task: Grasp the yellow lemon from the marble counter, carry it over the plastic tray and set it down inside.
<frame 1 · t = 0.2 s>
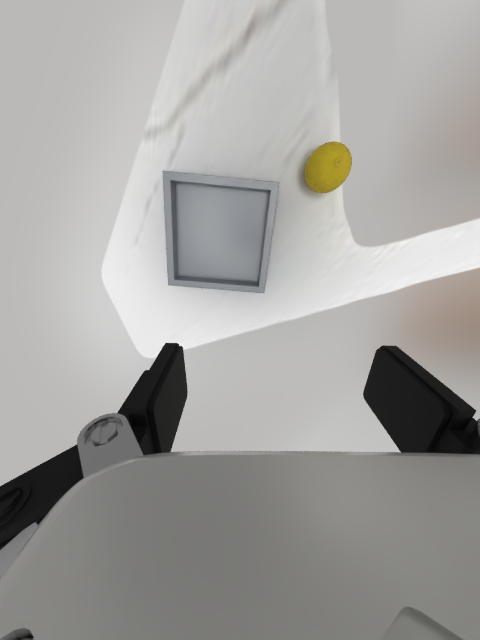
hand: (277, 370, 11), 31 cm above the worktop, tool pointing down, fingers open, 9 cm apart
tray: (220, 236, 37), on the worktop
lemon: (316, 174, 33), on the worktop
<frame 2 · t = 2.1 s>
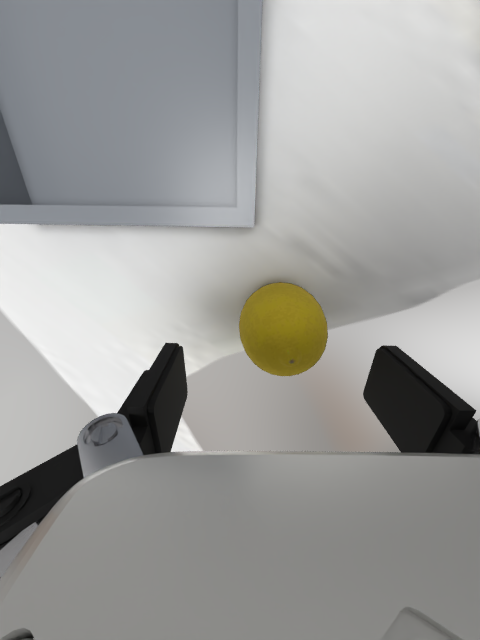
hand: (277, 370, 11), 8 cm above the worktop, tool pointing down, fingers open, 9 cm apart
tray: (118, 71, 13), on the worktop
lemon: (274, 303, 19), on the worktop
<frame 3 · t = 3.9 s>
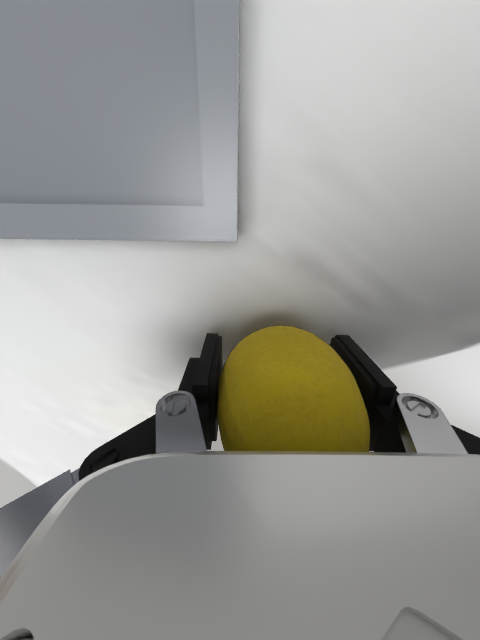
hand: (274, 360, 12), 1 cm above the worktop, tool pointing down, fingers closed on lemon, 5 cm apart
lemon: (271, 345, 13), on the worktop, touching gripper
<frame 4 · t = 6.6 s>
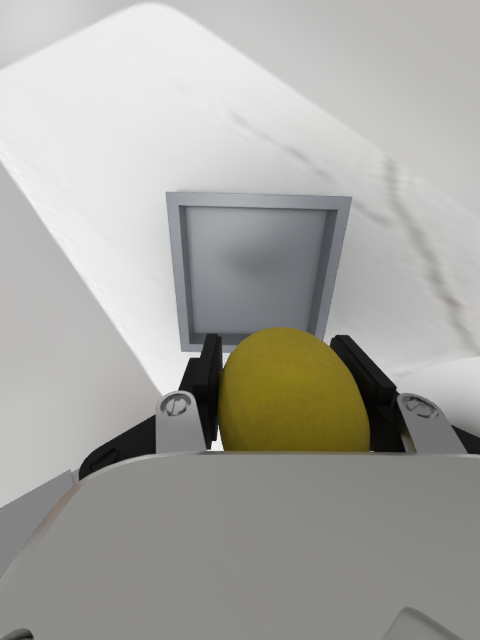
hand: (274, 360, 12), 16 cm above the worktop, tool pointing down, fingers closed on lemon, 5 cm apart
tray: (252, 277, 26), on the worktop
lemon: (271, 346, 13), point 14 cm above the worktop, touching gripper
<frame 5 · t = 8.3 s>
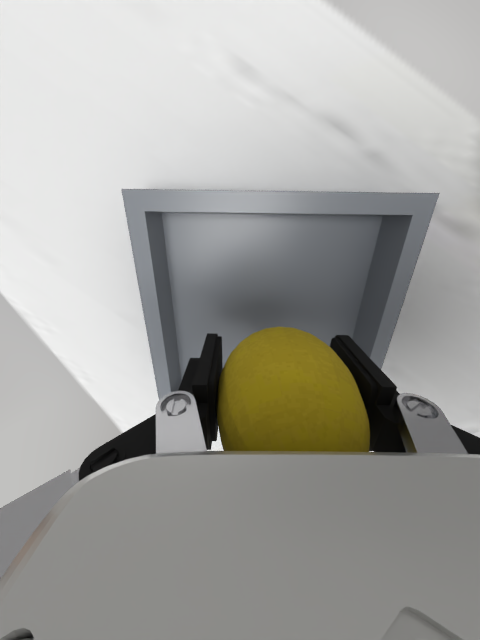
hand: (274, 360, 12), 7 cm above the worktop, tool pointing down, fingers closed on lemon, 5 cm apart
tray: (264, 312, 18), on the worktop
lemon: (271, 346, 13), point 5 cm above the worktop, touching gripper
when the fingers open (4 cm above the worktop, at t = 9.7 s): lemon drops 2 cm, resting on tray.
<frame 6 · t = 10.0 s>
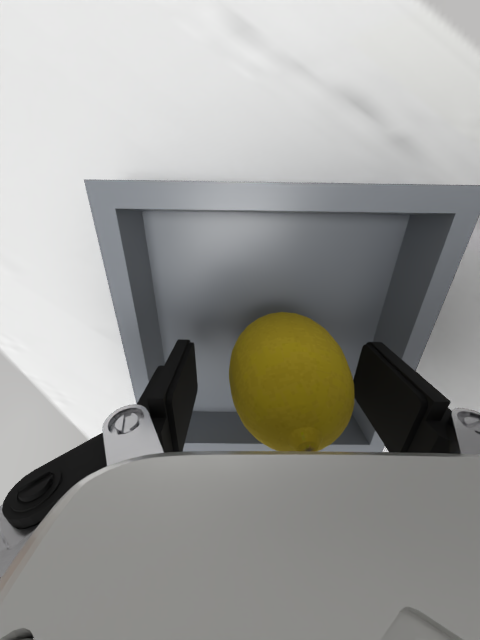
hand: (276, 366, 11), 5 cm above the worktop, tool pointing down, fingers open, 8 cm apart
tray: (266, 326, 15), on the worktop
lemon: (274, 331, 15), point 1 cm above the worktop, touching tray
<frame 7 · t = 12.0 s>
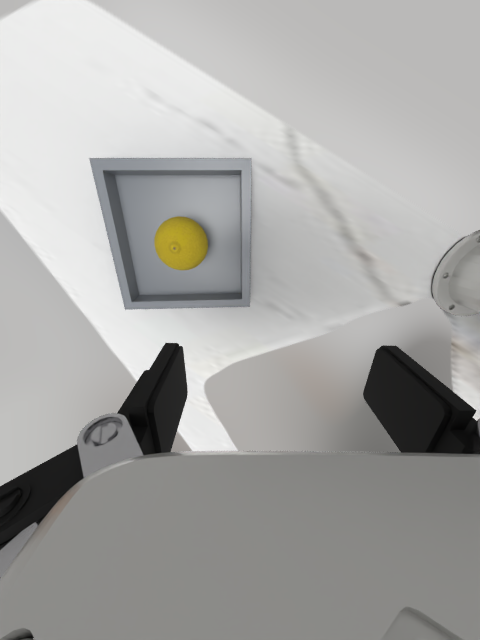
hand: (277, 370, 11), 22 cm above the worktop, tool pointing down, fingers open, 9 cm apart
tray: (186, 240, 29), on the worktop
lemon: (188, 240, 28), point 1 cm above the worktop, touching tray
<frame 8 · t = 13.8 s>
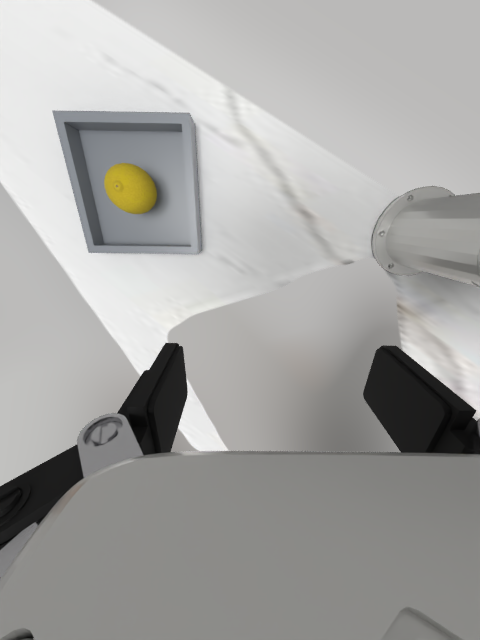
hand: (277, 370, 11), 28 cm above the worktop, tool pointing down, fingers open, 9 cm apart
tray: (144, 193, 32), on the worktop
lemon: (145, 193, 32), point 1 cm above the worktop, touching tray
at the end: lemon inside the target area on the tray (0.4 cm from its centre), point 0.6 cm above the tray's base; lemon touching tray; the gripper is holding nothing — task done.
